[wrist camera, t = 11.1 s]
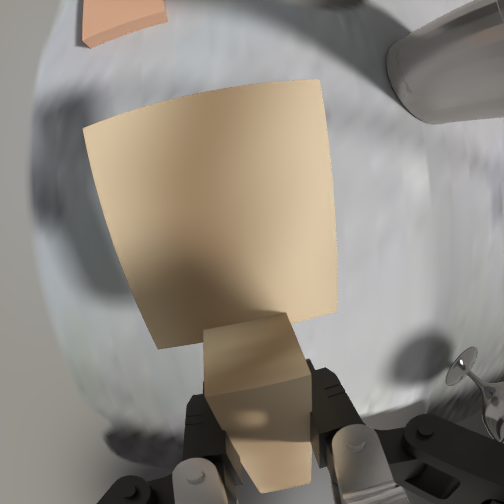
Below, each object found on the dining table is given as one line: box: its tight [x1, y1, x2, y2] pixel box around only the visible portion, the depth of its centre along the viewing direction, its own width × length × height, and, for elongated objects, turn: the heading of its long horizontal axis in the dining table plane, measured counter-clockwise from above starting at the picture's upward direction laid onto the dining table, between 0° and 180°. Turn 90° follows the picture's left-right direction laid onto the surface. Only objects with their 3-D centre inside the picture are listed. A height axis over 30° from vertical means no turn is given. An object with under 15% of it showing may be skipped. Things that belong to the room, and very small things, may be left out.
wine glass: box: [446, 347, 504, 443], centre depth 23 cm, size 8×8×15 cm
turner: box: [83, 79, 337, 493], centre depth 8 cm, size 6×16×4 cm, turn 10°
